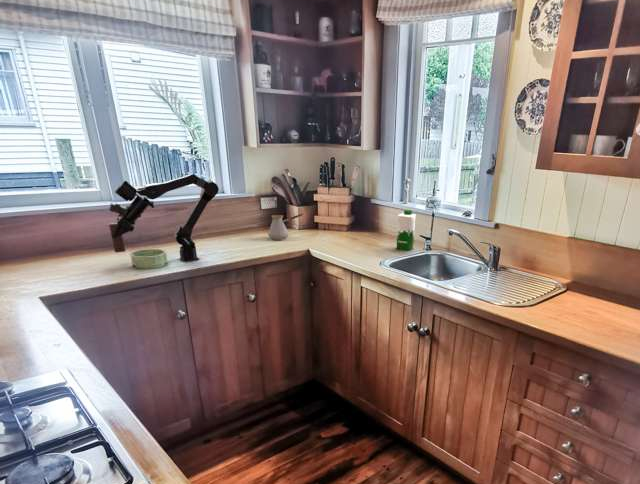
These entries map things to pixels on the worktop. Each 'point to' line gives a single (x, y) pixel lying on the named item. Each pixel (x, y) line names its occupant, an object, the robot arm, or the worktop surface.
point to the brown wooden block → (117, 239)
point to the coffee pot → (279, 227)
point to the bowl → (148, 258)
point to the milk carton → (405, 230)
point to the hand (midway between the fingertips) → (113, 236)
